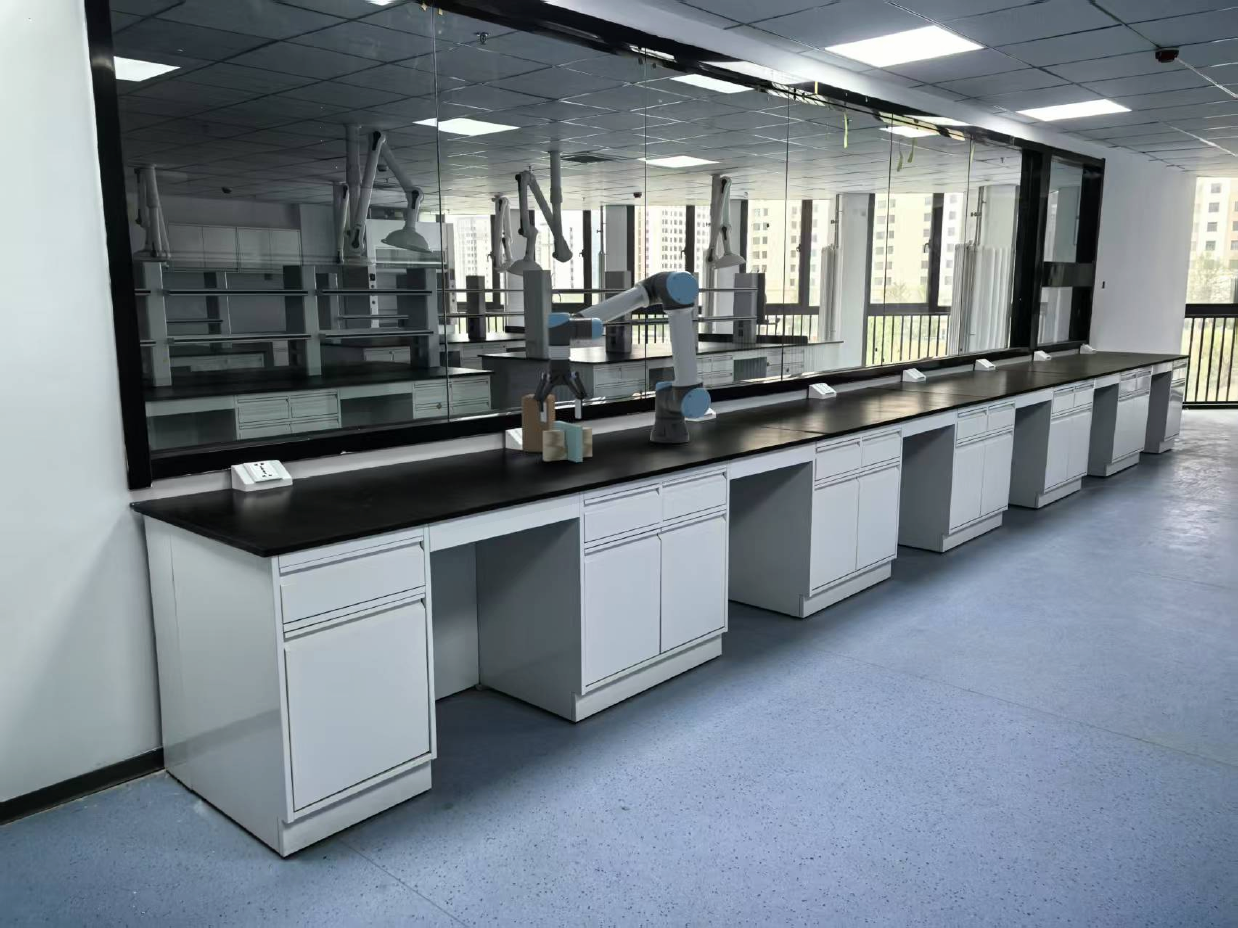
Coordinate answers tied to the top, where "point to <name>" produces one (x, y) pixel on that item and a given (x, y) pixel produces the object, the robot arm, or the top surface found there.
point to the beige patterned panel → (558, 449)
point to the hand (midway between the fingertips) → (561, 419)
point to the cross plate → (571, 439)
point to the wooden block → (535, 422)
